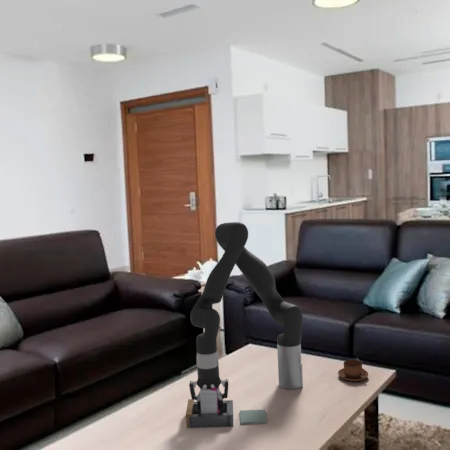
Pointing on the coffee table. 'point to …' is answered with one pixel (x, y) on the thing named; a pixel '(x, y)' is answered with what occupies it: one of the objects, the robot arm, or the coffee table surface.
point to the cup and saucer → (353, 371)
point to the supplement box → (209, 401)
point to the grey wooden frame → (209, 416)
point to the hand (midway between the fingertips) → (210, 409)
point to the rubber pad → (253, 416)
